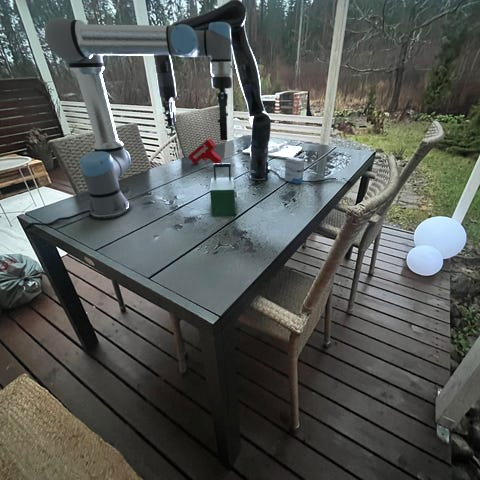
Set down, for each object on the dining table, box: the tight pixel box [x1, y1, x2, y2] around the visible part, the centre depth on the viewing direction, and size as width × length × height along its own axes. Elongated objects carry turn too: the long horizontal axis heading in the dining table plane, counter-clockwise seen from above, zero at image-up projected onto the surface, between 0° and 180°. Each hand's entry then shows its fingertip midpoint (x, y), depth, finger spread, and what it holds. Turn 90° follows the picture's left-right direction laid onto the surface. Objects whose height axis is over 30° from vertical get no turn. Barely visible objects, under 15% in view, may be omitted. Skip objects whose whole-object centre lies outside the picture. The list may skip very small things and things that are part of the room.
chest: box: [209, 191, 236, 217], centre depth 114 cm, size 14×9×10 cm
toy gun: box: [188, 138, 223, 164], centre depth 168 cm, size 18×4×15 cm
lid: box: [209, 163, 235, 193], centre depth 109 cm, size 14×9×8 cm
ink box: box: [284, 156, 306, 185], centre depth 140 cm, size 8×5×12 cm, turn 47°
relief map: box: [242, 138, 304, 160], centre depth 192 cm, size 27×35×5 cm
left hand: (223, 136), depth 112 cm, fingers open, 13 cm apart
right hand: (172, 124), depth 128 cm, fingers open, 8 cm apart
